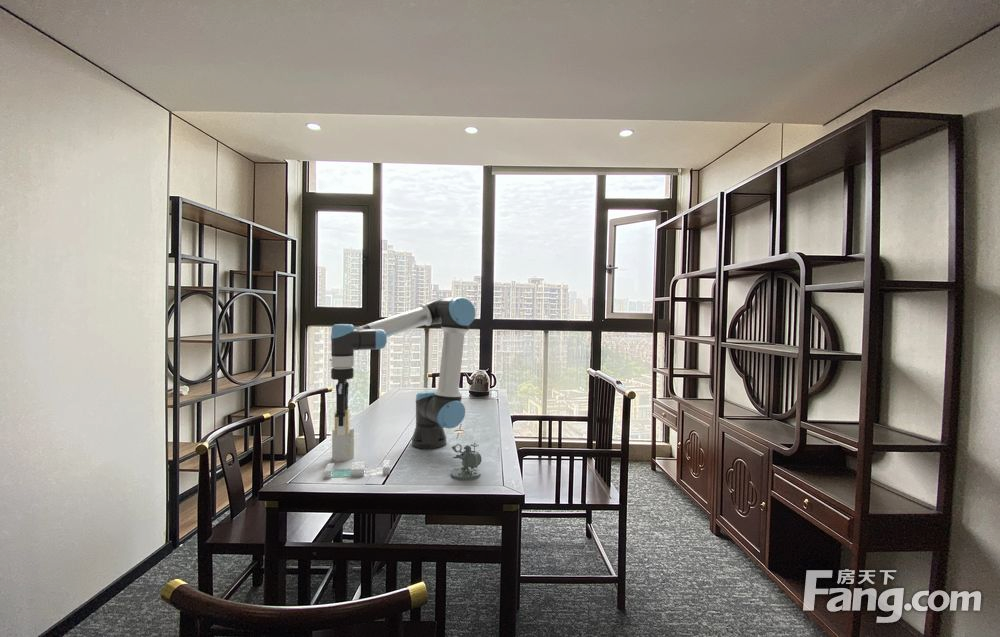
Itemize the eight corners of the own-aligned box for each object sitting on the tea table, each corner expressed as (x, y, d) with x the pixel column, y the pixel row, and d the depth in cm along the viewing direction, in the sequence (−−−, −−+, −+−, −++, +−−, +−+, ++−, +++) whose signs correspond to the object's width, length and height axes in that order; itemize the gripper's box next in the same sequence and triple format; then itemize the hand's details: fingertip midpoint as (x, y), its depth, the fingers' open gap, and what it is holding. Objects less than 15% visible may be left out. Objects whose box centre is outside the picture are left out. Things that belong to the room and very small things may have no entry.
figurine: (462, 467, 169) (462, 436, 169) (486, 473, 164) (486, 440, 163) (444, 476, 160) (445, 443, 160) (469, 483, 155) (470, 448, 154)
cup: (347, 462, 173) (347, 431, 173) (328, 461, 175) (328, 430, 175) (357, 455, 181) (357, 426, 181) (339, 454, 183) (339, 424, 183)
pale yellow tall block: (349, 431, 163) (349, 409, 163) (348, 434, 159) (348, 411, 159) (336, 431, 163) (336, 409, 162) (334, 435, 158) (334, 412, 158)
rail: (390, 467, 169) (390, 459, 169) (389, 475, 161) (389, 467, 161) (327, 471, 164) (327, 463, 164) (324, 479, 156) (324, 471, 156)
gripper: (335, 364, 168) (334, 426, 169) (327, 371, 151) (327, 440, 151) (356, 364, 170) (355, 425, 170) (350, 370, 152) (350, 439, 153)
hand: (342, 432), depth 161 cm, fingers closed on pale yellow tall block, 4 cm apart
